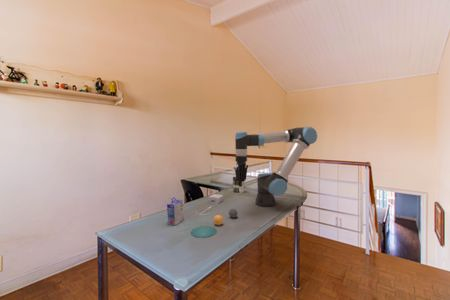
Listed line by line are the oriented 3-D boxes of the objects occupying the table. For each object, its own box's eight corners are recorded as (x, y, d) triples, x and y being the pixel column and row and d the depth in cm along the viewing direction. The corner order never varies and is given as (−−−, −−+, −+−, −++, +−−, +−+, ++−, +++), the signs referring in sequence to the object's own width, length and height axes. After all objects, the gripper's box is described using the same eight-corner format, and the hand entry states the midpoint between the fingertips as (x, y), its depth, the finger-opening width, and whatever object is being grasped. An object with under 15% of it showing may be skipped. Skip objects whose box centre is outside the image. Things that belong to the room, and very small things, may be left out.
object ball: (222, 222, 130) (222, 213, 130) (223, 226, 125) (223, 216, 124) (213, 223, 130) (213, 213, 129) (213, 226, 124) (213, 217, 124)
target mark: (216, 225, 125) (216, 225, 125) (217, 236, 112) (217, 236, 111) (191, 227, 124) (191, 226, 124) (189, 238, 110) (189, 238, 110)
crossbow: (208, 218, 141) (207, 215, 141) (191, 215, 146) (191, 212, 146) (219, 209, 156) (218, 206, 155) (203, 207, 161) (203, 204, 161)
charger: (226, 198, 181) (218, 203, 167) (216, 197, 184) (207, 202, 171) (226, 193, 180) (218, 197, 167) (216, 192, 184) (207, 196, 171)
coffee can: (233, 194, 193) (233, 178, 192) (232, 191, 203) (232, 176, 202) (245, 194, 194) (245, 178, 193) (243, 191, 204) (243, 176, 203)
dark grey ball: (236, 215, 141) (236, 207, 140) (238, 218, 135) (238, 210, 135) (228, 216, 140) (228, 207, 140) (229, 219, 135) (229, 210, 134)
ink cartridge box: (176, 218, 138) (175, 195, 137) (184, 219, 136) (183, 196, 135) (167, 224, 129) (166, 200, 128) (175, 225, 127) (174, 200, 126)
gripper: (242, 154, 150) (242, 188, 152) (230, 155, 140) (230, 192, 142) (251, 155, 145) (251, 190, 147) (240, 156, 135) (240, 194, 137)
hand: (241, 191), depth 144 cm, fingers closed
